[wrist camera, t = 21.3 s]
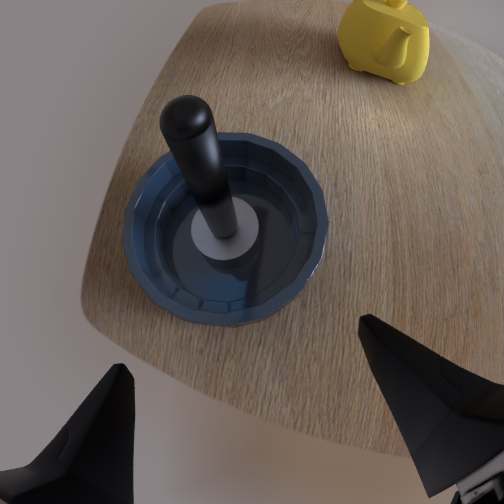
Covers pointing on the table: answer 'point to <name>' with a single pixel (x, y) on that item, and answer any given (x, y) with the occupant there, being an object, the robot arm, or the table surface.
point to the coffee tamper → (209, 184)
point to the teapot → (385, 39)
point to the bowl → (270, 230)
